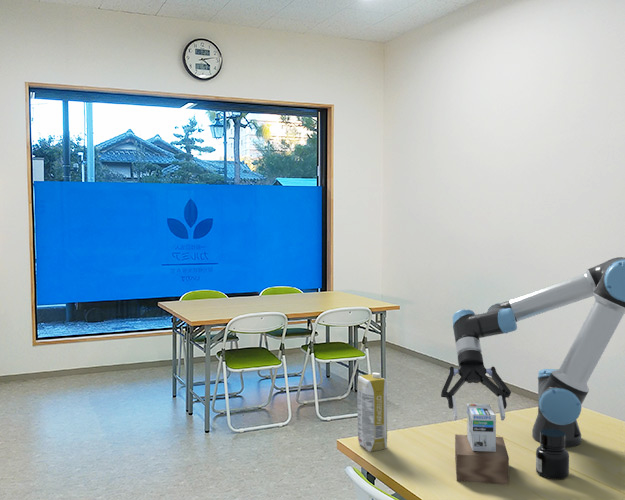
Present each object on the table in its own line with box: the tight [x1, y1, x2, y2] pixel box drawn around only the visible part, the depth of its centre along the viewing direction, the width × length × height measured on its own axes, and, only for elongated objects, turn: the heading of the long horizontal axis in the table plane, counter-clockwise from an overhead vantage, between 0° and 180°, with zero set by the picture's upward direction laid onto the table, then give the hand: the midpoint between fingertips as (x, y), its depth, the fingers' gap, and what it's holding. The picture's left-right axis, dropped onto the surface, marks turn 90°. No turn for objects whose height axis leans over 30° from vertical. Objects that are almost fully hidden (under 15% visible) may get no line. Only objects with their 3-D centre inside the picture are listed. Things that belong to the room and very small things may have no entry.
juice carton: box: [356, 372, 388, 452], centre depth 199 cm, size 9×8×24 cm
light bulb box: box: [466, 403, 497, 452], centre depth 179 cm, size 11×7×11 cm, turn 175°
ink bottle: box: [535, 429, 570, 480], centre depth 177 cm, size 10×9×12 cm
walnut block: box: [454, 433, 510, 486], centre depth 180 cm, size 14×16×8 cm
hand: (479, 418), depth 179 cm, fingers open, 13 cm apart
